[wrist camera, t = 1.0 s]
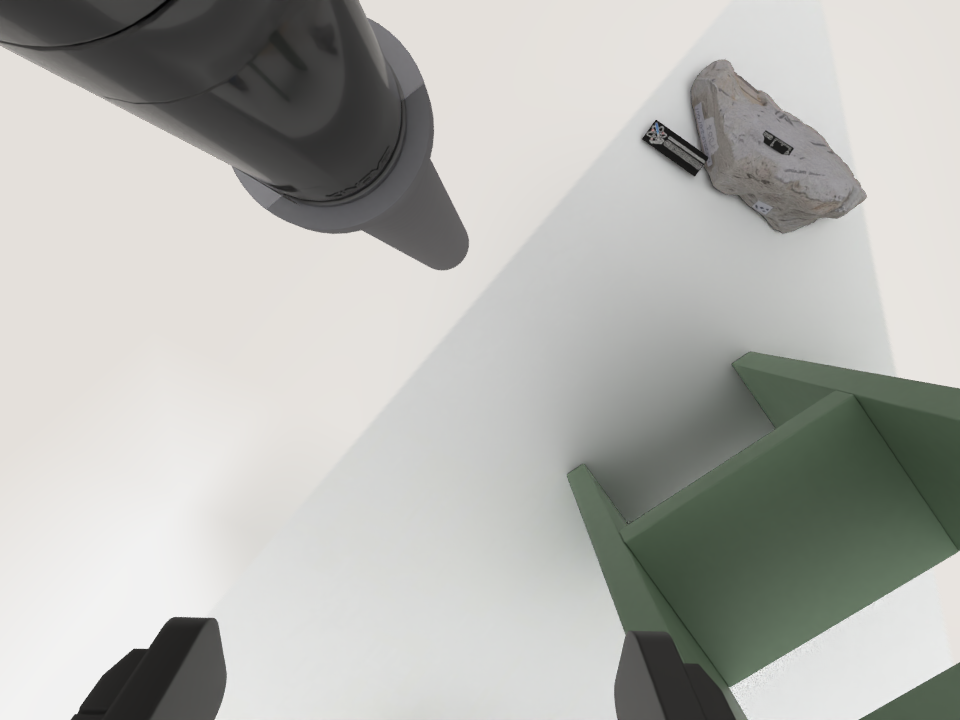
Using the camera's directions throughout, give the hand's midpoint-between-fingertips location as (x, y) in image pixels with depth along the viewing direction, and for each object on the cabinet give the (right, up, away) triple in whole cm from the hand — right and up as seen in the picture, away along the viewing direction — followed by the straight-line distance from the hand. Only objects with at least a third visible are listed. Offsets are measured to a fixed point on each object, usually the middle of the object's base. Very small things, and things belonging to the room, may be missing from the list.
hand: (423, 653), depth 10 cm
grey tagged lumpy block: (+16, +18, +14) cm, 28 cm away
